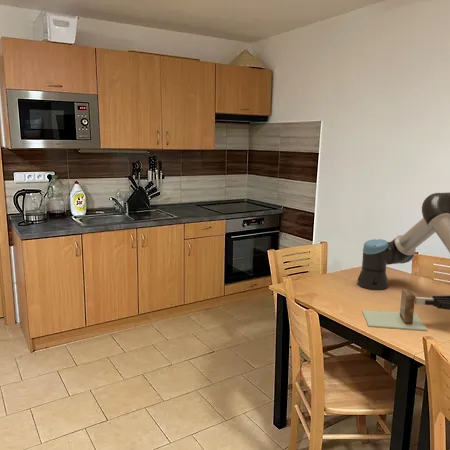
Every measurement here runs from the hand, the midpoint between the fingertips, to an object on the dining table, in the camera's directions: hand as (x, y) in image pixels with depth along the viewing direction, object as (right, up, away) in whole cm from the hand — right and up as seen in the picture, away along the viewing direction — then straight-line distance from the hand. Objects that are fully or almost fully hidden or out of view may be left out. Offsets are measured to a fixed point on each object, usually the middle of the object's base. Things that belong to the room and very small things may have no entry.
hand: (415, 300), depth 170 cm
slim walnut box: (-3, -9, +3) cm, 9 cm away
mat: (-8, -9, +4) cm, 12 cm away
